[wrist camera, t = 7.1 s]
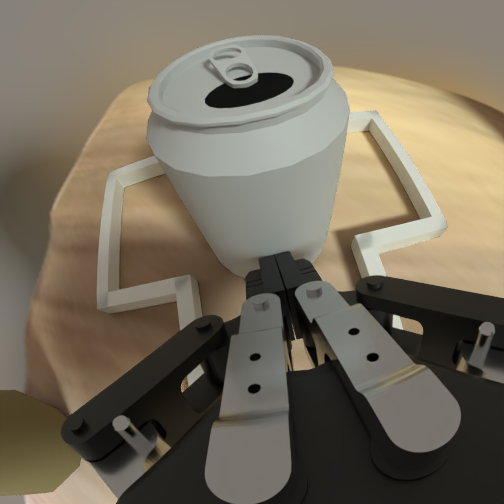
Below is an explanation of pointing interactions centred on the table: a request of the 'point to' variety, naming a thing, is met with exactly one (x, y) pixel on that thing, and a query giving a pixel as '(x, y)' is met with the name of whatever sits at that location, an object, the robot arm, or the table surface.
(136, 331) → the table surface
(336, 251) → the table surface
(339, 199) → the table surface
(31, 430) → the squeeze bottle
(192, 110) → the can
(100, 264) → the t outline
